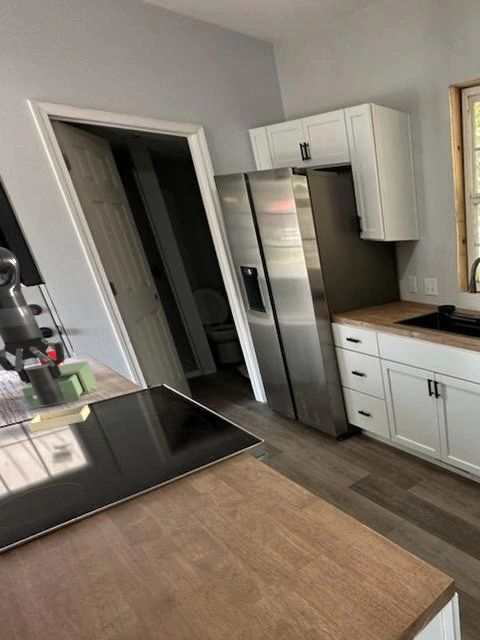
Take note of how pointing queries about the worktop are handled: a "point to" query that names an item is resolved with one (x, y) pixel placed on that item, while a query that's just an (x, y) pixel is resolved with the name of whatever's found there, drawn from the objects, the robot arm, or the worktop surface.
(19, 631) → the worktop surface
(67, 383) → the drawer
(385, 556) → the worktop surface
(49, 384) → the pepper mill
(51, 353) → the beverage can
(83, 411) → the tray
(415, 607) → the worktop surface
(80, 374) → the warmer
